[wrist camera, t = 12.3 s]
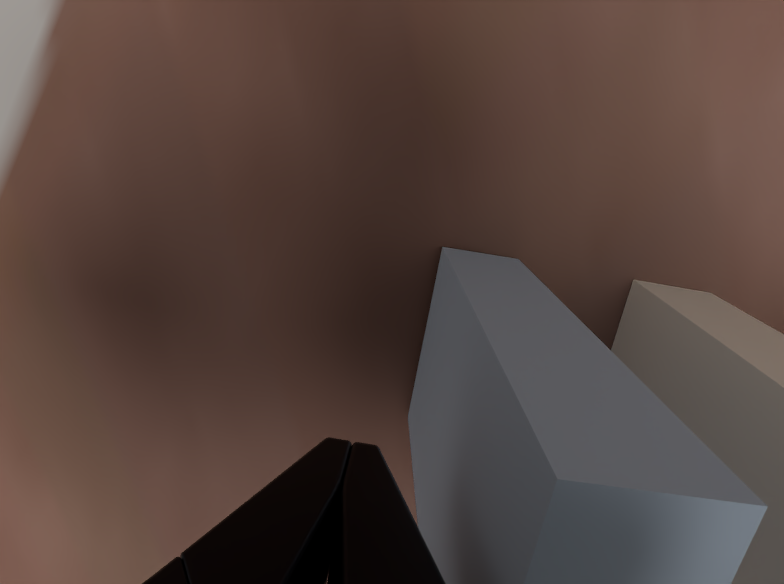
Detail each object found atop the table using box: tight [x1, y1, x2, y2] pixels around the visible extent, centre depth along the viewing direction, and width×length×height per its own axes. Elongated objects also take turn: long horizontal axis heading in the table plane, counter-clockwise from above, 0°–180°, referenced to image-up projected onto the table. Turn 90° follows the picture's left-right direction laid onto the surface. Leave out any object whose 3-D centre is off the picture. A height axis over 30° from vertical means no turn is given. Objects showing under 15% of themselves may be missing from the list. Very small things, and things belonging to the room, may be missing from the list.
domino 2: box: [611, 280, 784, 584], centre depth 10 cm, size 5×2×9 cm, turn 171°
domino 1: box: [408, 247, 768, 584], centre depth 10 cm, size 5×2×9 cm, turn 170°
